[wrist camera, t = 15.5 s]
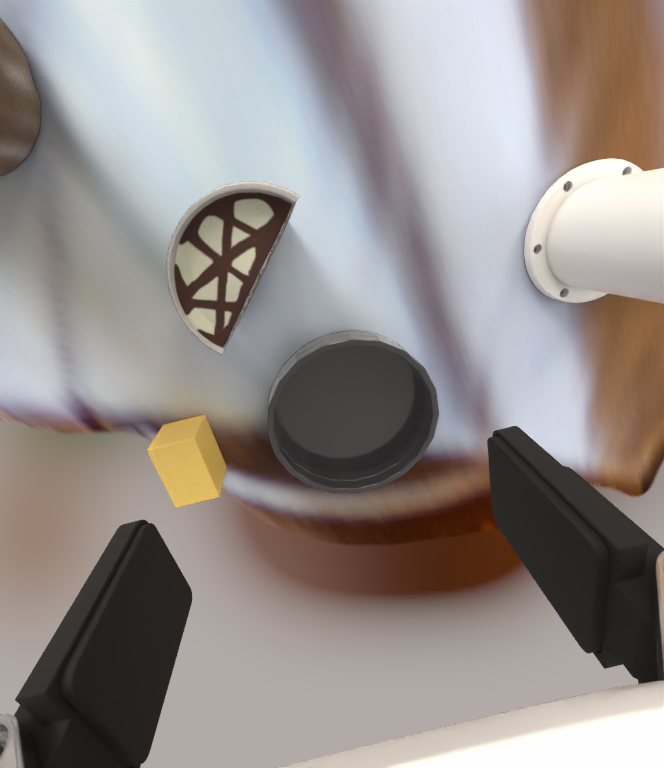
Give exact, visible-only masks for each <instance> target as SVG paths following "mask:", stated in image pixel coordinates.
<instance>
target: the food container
mask: <svg viewBox="0 0 664 768" xmlns="http://www.w3.org/2000/svg"><path fill="white" fill-rule="evenodd" d="M298 198H299V195H297V194H296V193H294V192H292V191H290V190H288V189H285V188H283V187H280V186H277V185H274V184H269V183H263V182H238V183H233V184H228V185H225V186H222V187H220V188H217V189H215V190H212V191H211V192H209V193H208V194H206V195H204V196H203V197H201V198H200V199H199V200H198V201H197V202H195V203H194V204H193V205H192V206H191V207H190V208H189V209H188V211H187V212H186V213H185V215H184V216H183V217H182V219H181V220H180V221H179V223H178V225H177V227H176V229H175V231H174V233H173V235H172V238H171V242H170V245H169V248H168V255H167V263H166V266H167V281H168V286H169V292H170V295H171V298H172V300H173V303H174V306H175V308H176V310H177V312H178V314H179V315H180V317H181V319H182V320H183V322H184V323H185V324H186V326H187V327H188V329H189V330H190V331H191V332H192V333H193V334H194V335H195V336H196V337H197V338H198V339H199V340H200V341H201V342H203V343H204V344H205V345H206V346H208V347H209V348H210V349H212V350H214V351H216V352H217V353H219V354H221V355H222V354H223V352H224V350H225V348H226V346H227V344H228V342H229V340H230V338H231V336H232V334H233V332H234V331H235V329H236V327H237V325H238V323H239V321H240V319H241V317H242V315H243V313H244V311H245V309H246V307H247V305H248V303H249V301H250V299H251V297H252V295H253V293H254V291H255V289H256V287H257V285H258V283H259V281H260V279H261V277H262V274H263V272H264V270H265V268H266V266H267V264H268V262H269V260H270V258H271V256H272V254H273V252H274V250H275V248H276V246H277V244H278V242H279V240H280V237H281V235H282V233H283V231H284V229H285V227H286V225H287V223H288V221H289V219H290V216H291V214H292V211H293V208H294V206H295V203H296V201H297V199H298Z"/></svg>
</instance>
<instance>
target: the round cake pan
mask: <svg viewBox="0 0 664 768" xmlns="http://www.w3.org/2000/svg"><path fill="white" fill-rule="evenodd" d="M438 416H439V410H438V402H437V393H436V389H435V387H434V385H433V383H432V381H431V379H430V377H429V375H428V373H427V371H426V369H425V368H424V367H423V366H422V365H421V364H420V363H419V362H418V361H417V360H416V359H415V358H414V357H413V356H412V355H410V354H409V353H408V352H407V351H406V350H405V349H404V348H403V347H402V346H400V345H399V344H398V343H397V342H394V341H392V340H390V339H388V338H387V337H384V336H381V335H378V334H375V333H371V332H366V331H341V332H336V333H331V334H328V335H325V336H322V337H320V338H317V339H315V340H313V341H311V342H309V343H308V344H306V345H305V346H303V347H302V348H300V349H299V350H298V351H297V352H296V353H294V354H293V355H292V356H291V357H290V358H289V360H288V361H287V362H286V363H285V364H284V366H283V367H282V369H281V370H280V371H279V373H278V375H277V377H276V379H275V382H274V385H273V387H272V390H271V393H270V396H269V405H268V427H267V432H268V436H269V439H270V442H271V445H272V448H273V451H274V454H275V456H276V457H277V458H278V460H279V461H280V462H281V463H282V465H283V466H284V467H285V468H286V470H287V471H288V472H289V473H290V474H291V475H293V476H294V477H296V478H298V479H299V480H301V481H302V482H304V483H305V484H307V485H309V486H310V487H314V488H317V489H321V490H324V491H328V492H332V493H360V492H364V491H368V490H372V489H376V488H380V487H383V486H384V485H386V484H388V483H390V482H392V481H394V480H395V479H397V478H399V477H401V476H403V475H404V474H405V473H406V472H407V471H408V470H409V469H410V468H411V467H413V466H414V465H415V464H416V463H417V462H418V461H419V460H420V459H421V458H422V456H423V455H424V453H425V451H426V449H427V448H428V446H429V444H430V443H431V441H432V439H433V437H434V433H435V429H436V425H437V420H438Z"/></svg>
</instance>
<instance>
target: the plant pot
mask: <svg viewBox="0 0 664 768" xmlns="http://www.w3.org/2000/svg"><path fill="white" fill-rule="evenodd" d="M40 120H41V105H40V98H39V96H38V94H37V91H36V89H35V86H34V83H33V79H32V75H31V71H30V64H29V62H28V59H27V57H26V55H25V53H24V51H23V50H22V48H21V46H20V44H19V43H18V41H17V40H16V38H15V36H14V35H13V34H12V32H11V31H10V30H9V28H8V27H7V26H6V25H5V23H4V22H3V21H2V20H1V19H0V176H2V175H5V174H7V173H9V172H11V171H12V170H14V169H15V168H16V167H18V166H19V165H20V164H21V163H22V162H23V161H24V160H25V159H26V158H27V156H28V155H29V153H30V152H31V150H32V148H33V146H34V144H35V142H36V139H37V136H38V133H39V128H40Z"/></svg>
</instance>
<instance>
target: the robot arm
mask: <svg viewBox="0 0 664 768" xmlns="http://www.w3.org/2000/svg"><path fill="white" fill-rule="evenodd" d="M524 257H525V264H526V268H527V271H528V274H529V276H530V278H531V280H532V281H533V283H534V285H535V286H536V287H537V288H538V289H539V290H540V291H541V292H542V293H543V294H545V295H547V296H548V297H550V298H552V299H556V300H559V301H563V302H569V303H584V302H588V301H592V300H595V299H598V298H600V297H602V296H604V295H606V294H608V293H609V294H614V295H620V296H625V297H630V298H636V299H641V300H647V301H652V302H657V303H663V304H664V168H661V169H656V170H650V171H644V172H643V171H642V170H641V169H640V168H638V167H637V166H636V165H634V164H632V163H630V162H627V161H625V160H620V159H603V160H597V161H593V162H589V163H585V164H583V165H581V166H578V167H576V168H574V169H572V170H571V171H569V172H568V173H566V174H565V175H563V176H562V177H561V178H559V179H558V180H557V181H556V182H555V183H554V184H553V185H552V186H551V187H550V188H549V189H548V191H547V192H546V193H545V194H544V196H543V197H542V198H541V200H540V201H539V203H538V205H537V207H536V208H535V210H534V212H533V214H532V217H531V219H530V222H529V225H528V227H527V232H526V237H525V245H524ZM488 456H489V470H490V483H491V497H492V510H493V516H494V519H495V522H496V524H497V526H498V527H499V529H500V530H501V532H502V533H503V534H504V536H505V537H506V539H507V540H508V542H509V543H510V545H511V546H512V548H513V549H514V551H515V552H516V553H517V555H518V556H519V558H520V559H521V561H522V562H523V563H524V565H525V567H526V568H527V569H528V570H529V572H530V574H531V575H532V577H533V578H534V579H535V581H536V583H537V584H538V586H539V587H540V588H541V590H542V591H543V593H544V594H545V596H546V597H547V599H548V600H549V601H550V603H551V605H552V606H553V607H554V609H555V610H556V612H557V613H558V615H559V616H560V617H561V619H562V621H563V622H564V623H565V625H566V626H567V628H568V629H569V631H570V632H571V634H572V635H573V637H574V638H575V640H576V641H577V642H578V644H579V645H580V647H581V648H582V649H583V650H584V651H585V652H586V653H592V652H593V653H594V654H595V656H596V657H597V659H598V660H599V661H600V663H601V665H602V666H603V667H604V668H609V667H613V666H617V665H622V664H623V665H624V666H625V667H626V668H627V670H628V671H629V673H630V674H631V675H632V676H633V677H634V678H636V679H638V684H635V685H629V686H622V687H616V688H611V689H607V690H602V691H597V692H593V693H588V694H583V695H579V696H574V697H570V698H566V699H561V700H556V701H552V702H547V703H542V704H538V705H533V706H529V707H524V708H520V709H516V710H512V711H508V712H504V713H500V714H495V715H491V716H487V717H483V718H479V719H475V720H471V721H466V722H462V723H458V724H454V725H450V726H445V727H441V728H437V729H433V730H429V731H424V732H420V733H416V734H412V735H408V736H404V737H400V738H396V739H391V740H387V741H384V742H379V743H375V744H371V745H367V746H364V747H359V748H355V749H351V750H347V751H342V752H339V753H334V754H330V755H326V756H322V757H318V758H314V759H311V760H306V761H302V762H298V763H294V764H290V765H286V766H282V767H278V768H664V548H663V547H662V546H660V545H659V544H658V543H657V542H656V541H655V540H654V539H652V538H651V537H650V536H649V535H648V534H647V533H646V532H644V531H643V530H642V529H641V528H640V527H639V526H637V525H636V524H635V523H634V522H633V521H632V520H630V519H629V518H628V517H627V516H626V515H625V514H623V513H622V512H621V511H620V510H619V509H618V508H616V507H615V506H614V505H613V504H612V503H611V502H609V501H608V500H607V499H606V498H605V497H604V496H603V495H601V494H600V493H599V492H598V491H597V490H596V489H594V488H593V487H592V486H591V485H590V484H589V483H587V482H586V481H585V480H584V479H583V478H582V477H580V476H579V475H578V474H577V473H576V472H575V471H573V470H572V469H570V468H569V467H565V466H562V465H561V464H560V463H559V462H558V461H556V460H555V459H554V458H553V457H552V456H551V455H550V454H548V453H547V452H546V451H545V450H544V449H543V448H542V447H541V446H539V445H538V444H537V443H536V442H535V441H534V440H533V439H531V438H530V437H529V436H528V435H527V434H526V433H525V432H523V431H522V430H521V429H520V428H519V427H517V426H512V427H508V428H504V429H500V430H496V431H494V432H493V437H491V438H488ZM191 603H192V592H191V588H190V586H189V585H188V583H187V581H186V579H185V578H184V576H183V574H182V572H181V571H180V569H179V567H178V565H177V564H176V562H175V560H174V558H173V556H172V555H171V553H170V552H169V550H168V548H167V546H166V544H165V542H164V541H163V539H162V537H161V535H160V534H159V532H158V530H157V528H156V527H155V525H154V524H152V523H150V524H149V523H148V522H147V521H146V520H139V521H135V522H131V523H127V524H124V525H121V526H120V527H119V528H118V529H117V531H116V532H115V534H114V536H113V537H112V539H111V541H110V542H109V544H108V546H107V547H106V549H105V551H104V553H103V554H102V556H101V557H100V559H99V561H98V562H97V564H96V566H95V567H94V569H93V571H92V572H91V574H90V576H89V577H88V579H87V581H86V583H85V584H84V586H83V587H82V589H81V591H80V592H79V594H78V596H77V597H76V599H75V601H74V603H73V604H72V606H71V607H70V609H69V611H68V612H67V614H66V616H65V617H64V619H63V621H62V622H61V624H60V626H59V627H58V629H57V631H56V633H55V634H54V636H53V637H52V639H51V641H50V642H49V644H48V646H47V647H46V649H45V651H44V652H43V654H42V656H41V657H40V659H39V661H38V662H37V664H36V666H35V667H34V669H33V671H32V673H31V674H30V676H29V677H28V679H27V681H26V683H25V684H24V686H23V687H22V689H21V691H20V692H19V694H18V696H17V698H16V699H15V700H16V701H17V702H18V703H19V704H20V706H19V708H18V710H17V712H16V713H15V715H14V716H12V715H10V714H8V713H7V714H1V715H0V768H140V765H141V764H142V763H144V762H145V760H146V759H147V757H148V755H149V752H150V749H151V745H152V742H153V738H154V735H155V731H156V728H157V724H158V721H159V717H160V713H161V710H162V706H163V703H164V699H165V695H166V692H167V689H168V685H169V681H170V678H171V674H172V671H173V667H174V663H175V660H176V657H177V653H178V649H179V646H180V642H181V639H182V635H183V632H184V628H185V625H186V621H187V617H188V614H189V610H190V607H191Z"/></svg>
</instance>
